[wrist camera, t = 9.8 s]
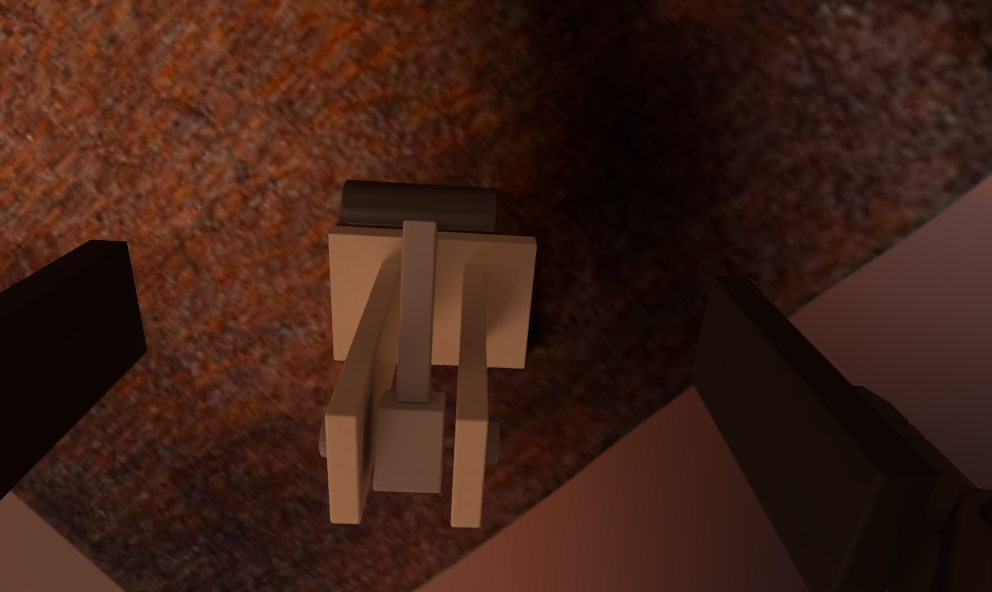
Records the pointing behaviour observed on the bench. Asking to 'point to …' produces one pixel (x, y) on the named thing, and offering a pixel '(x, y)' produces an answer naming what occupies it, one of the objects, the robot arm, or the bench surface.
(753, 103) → the bench surface
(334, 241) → the bracket
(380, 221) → the lever
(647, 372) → the bench surface
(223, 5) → the bench surface
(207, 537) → the bench surface
